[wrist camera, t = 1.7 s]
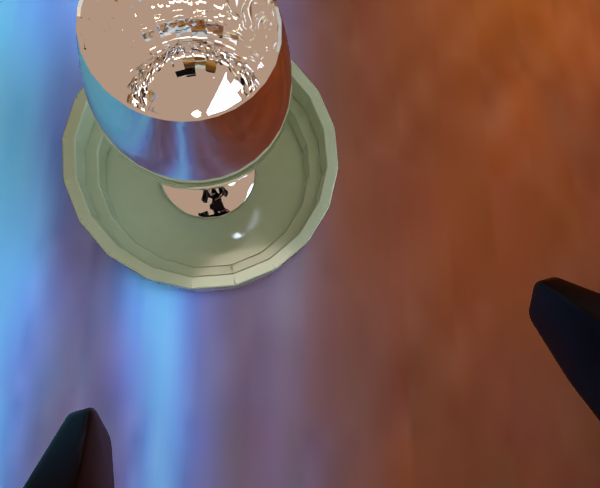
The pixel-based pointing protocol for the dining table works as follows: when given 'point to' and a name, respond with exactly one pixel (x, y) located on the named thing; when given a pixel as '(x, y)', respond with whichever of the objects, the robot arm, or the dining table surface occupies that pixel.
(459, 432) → the dining table surface
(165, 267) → the dish
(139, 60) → the wineglass
